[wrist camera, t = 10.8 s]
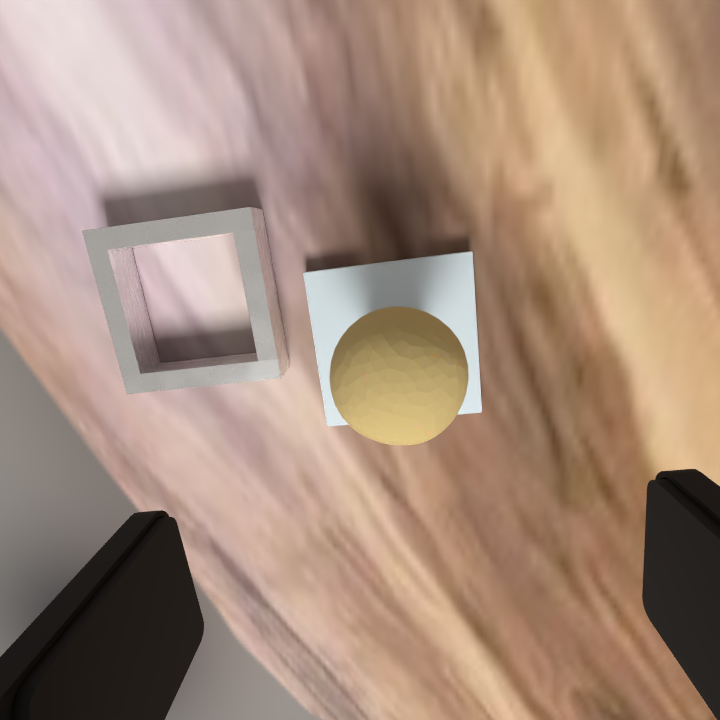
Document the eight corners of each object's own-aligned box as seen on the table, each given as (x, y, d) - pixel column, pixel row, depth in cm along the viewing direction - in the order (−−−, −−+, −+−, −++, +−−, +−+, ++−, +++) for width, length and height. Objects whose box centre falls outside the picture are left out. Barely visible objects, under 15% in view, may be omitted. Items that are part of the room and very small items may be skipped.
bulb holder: (262, 209, 27) (250, 206, 24) (289, 366, 29) (281, 378, 27) (108, 231, 28) (81, 230, 25) (147, 381, 30) (127, 394, 28)
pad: (469, 251, 27) (472, 251, 26) (478, 406, 29) (481, 412, 28) (306, 271, 28) (303, 272, 27) (329, 420, 30) (327, 426, 29)
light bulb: (431, 402, 28) (453, 486, 19) (333, 376, 28) (305, 448, 19) (461, 305, 26) (503, 342, 17) (358, 278, 26) (340, 300, 17)
